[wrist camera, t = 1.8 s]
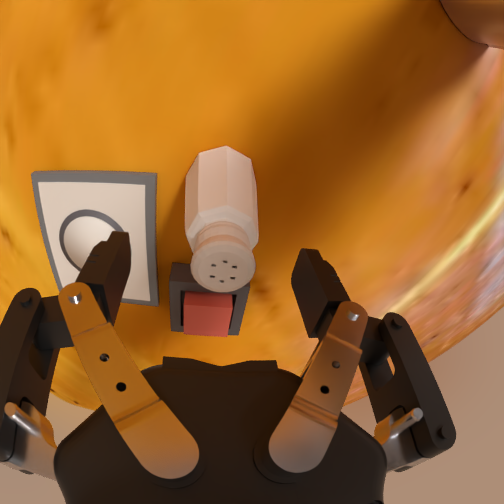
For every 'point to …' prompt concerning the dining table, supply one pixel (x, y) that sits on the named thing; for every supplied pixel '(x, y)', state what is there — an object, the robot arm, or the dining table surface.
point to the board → (99, 223)
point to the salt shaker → (221, 219)
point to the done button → (207, 313)
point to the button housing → (185, 281)
